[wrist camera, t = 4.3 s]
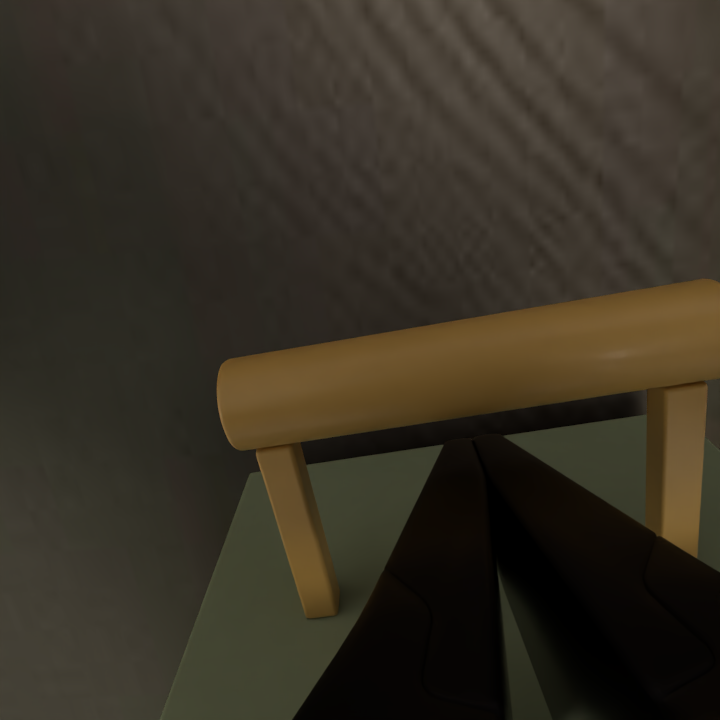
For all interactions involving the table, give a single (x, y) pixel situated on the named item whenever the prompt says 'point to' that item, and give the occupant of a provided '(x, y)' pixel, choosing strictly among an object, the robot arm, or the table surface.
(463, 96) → the table surface
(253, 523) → the green drawer
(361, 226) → the table surface
